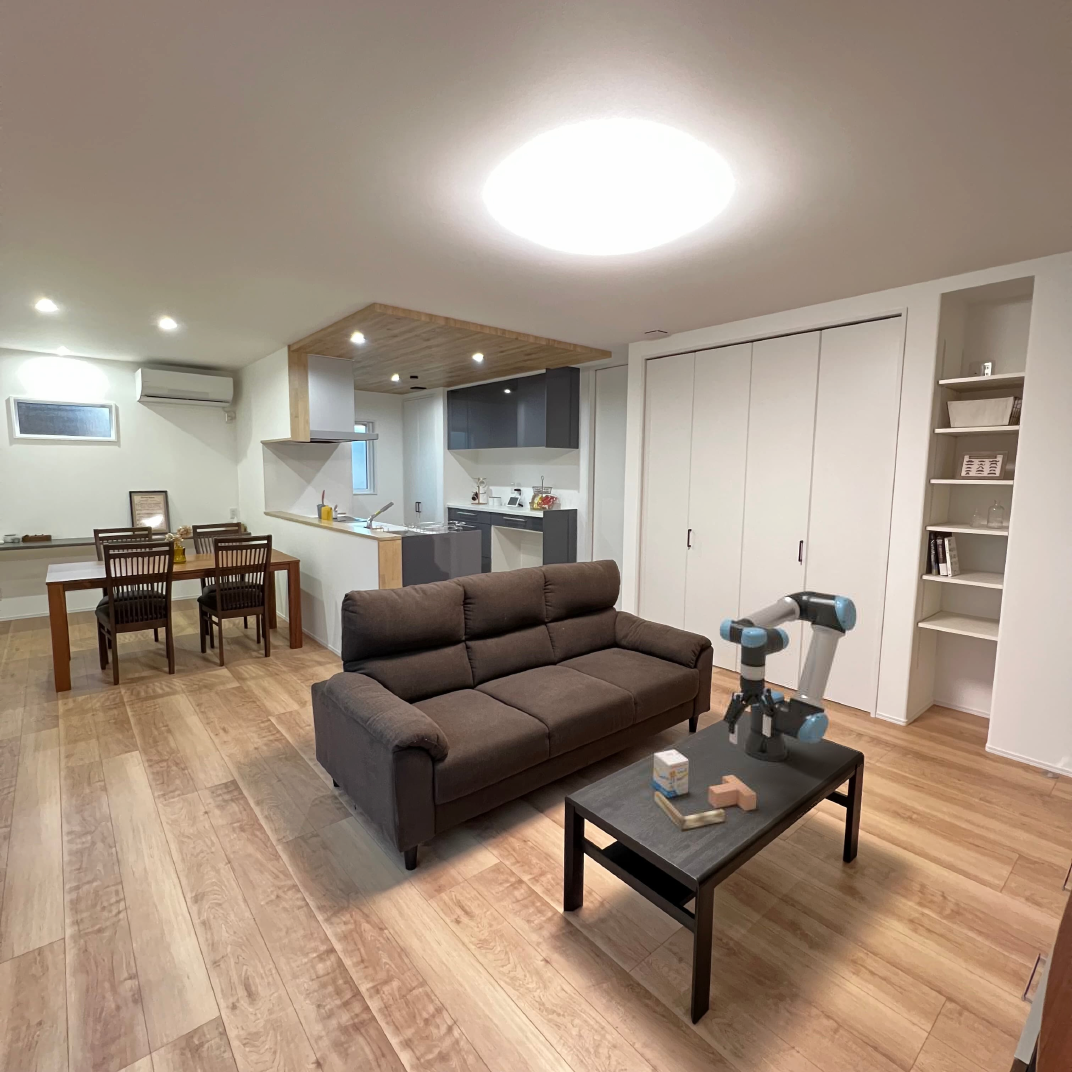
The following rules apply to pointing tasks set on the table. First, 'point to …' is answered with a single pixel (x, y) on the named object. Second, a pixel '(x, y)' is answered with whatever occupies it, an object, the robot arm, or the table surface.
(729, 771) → the table surface
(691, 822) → the corner fence
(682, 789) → the ink box
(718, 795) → the t block
